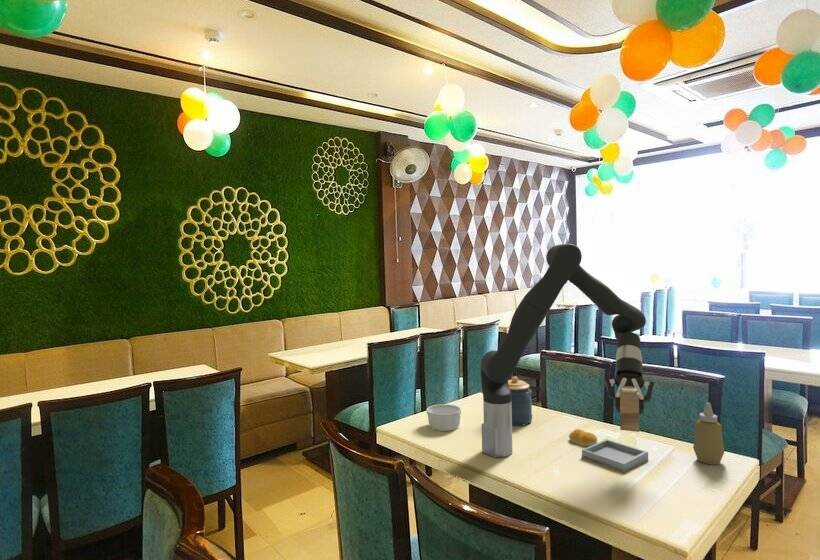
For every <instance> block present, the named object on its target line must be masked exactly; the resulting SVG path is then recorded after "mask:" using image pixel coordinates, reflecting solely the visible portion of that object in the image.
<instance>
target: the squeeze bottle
mask: <svg viewBox="0 0 820 560" xmlns="http://www.w3.org/2000/svg"><path fill="white" fill-rule="evenodd" d="M704 405H705V406H704V410H703V412H700V413H699V419H698V420H696V422H695V429H694V437H693V438H694V439H693V447H692V449H693V451H694V453H695V456H696V459H697V460H698V461H699V462H701V463H703V464H708V465H719V464H721V461H722V459H723V457H724V454H725V447H724V441H723V432H722V431H723V430H722V425H721V423H719V422H718V415H716V414H714V412H713V407H712V404H711V402H705V404H704Z"/></svg>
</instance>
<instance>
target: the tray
mask: <svg viewBox="0 0 820 560" xmlns="http://www.w3.org/2000/svg"><path fill="white" fill-rule="evenodd" d="M581 458H582V459H586V460H589V461H590V462H594V463H596V464H600V465H602V466H605V467H607V468H610V469H613V470H616V471H619V472H622V473H626V472H628V471H630V470H631V469H634V468H635V467H637V466H639V465H641V464H644V463H645V462H647V461H649V451H646V450H643V449H639V448H637V447H634V446H631V445H628V444H627V445H626V444H624V443H621V442H617V441H615V440H610V439H607V438H606V439H604V440H601V441H599V442H597V443H596V444H594V445H592V446H586V447H585V448H582V449H581Z"/></svg>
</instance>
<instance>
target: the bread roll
mask: <svg viewBox="0 0 820 560" xmlns="http://www.w3.org/2000/svg"><path fill="white" fill-rule="evenodd" d="M568 437H569V441H570V442H572V443H573V444H576V445H580V446H582V447H589V446H592V445H594V444H596V443H598V436H597V435H595V434H594V433H592V432H589V431H588V432H586V431H585V430H584V429H578V428H576V429H574V430H573V431H571V432H570V433H569V436H568Z"/></svg>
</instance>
